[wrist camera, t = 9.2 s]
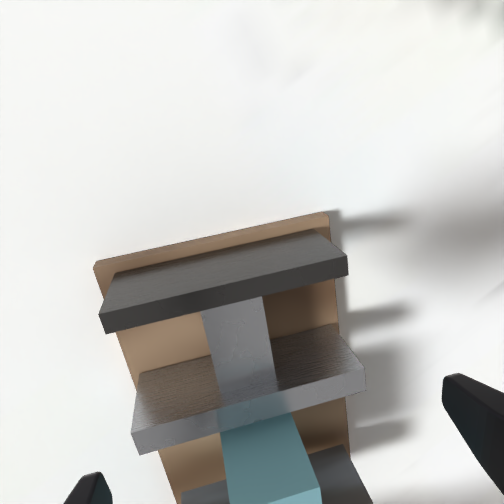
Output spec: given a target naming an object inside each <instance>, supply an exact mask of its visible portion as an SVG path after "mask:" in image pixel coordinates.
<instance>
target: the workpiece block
mask: <svg viewBox="0 0 504 504" xmlns="http://www.w3.org/2000/svg"><path fill="white" fill-rule="evenodd" d="M220 437H221V444H222V451H223V459H224V466H225V473H226V480H227V487H228V494H229V501H230V504H322V499H321V491H320V486H319V483H318V481H317V478H316V476H315V473H314V471H313V468H312V466H311V463H310V460H309V458H308V455H307V453H306V450H305V448H304V445H303V443H302V440H301V437H300V435H299V432H298V430H297V427H296V425H295V422H294V420H293V417H292V414H291V412H289V413H286V414H282V415H279V416H275V417H272V418H268V419H265V420H261V421H258V422H254V423H251V424H247V425H244V426H240V427H237V428H233V429H230V430H226V431H223V432H220Z"/></svg>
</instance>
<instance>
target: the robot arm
mask: <svg viewBox="0 0 504 504" xmlns="http://www.w3.org/2000/svg"><path fill="white" fill-rule="evenodd" d="M442 403H443V406H444V408H445V410H446V411H447V413H448V415H449V416H450V418H451V419H452V421H453V422H454V424H455V426H456V427H457V429H458V430H459V432H460V434H461V435H462V437H463V438H464V440H465V441H466V443H467V445H468V446H469V448H470V449H471V451H472V453H473V454H474V456H475V457H476V459H477V460H478V462H479V463H480V465H481V466H482V467H483V469H484V470H485V471H486V473H487V474H488V475H489V477H490V478H491V479H492V481H493V482H494V483H495V484H496V486H497V487H498V488H499V490H500V491H501V492H502V494H503V495H504V393H503V392H500V391H498V390H496V389H494V388H492V387H489V386H487V385H485V384H483V383H481V382H478V381H476V380H474V379H472V378H470V377H467V376H465V375H463V374H460V373H456V374H452V375H448V376H445V377H444V379H443V387H442ZM63 504H113V501H112V494H111V491H110V489H109V487H108V485H107V483H106V481H105V478H104V476H103V474H102V473H101V472H95V473H91V474H87V475H84V476H83V477H82V478H81V479H80V480H79V481H78V483H77V484H76V486H75V487H74V489H73V490H72V492H71V493H70V495H69V496H68V498H67V499H66V501H65V502H64V503H63Z"/></svg>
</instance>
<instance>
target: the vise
mask: <svg viewBox="0 0 504 504" xmlns="http://www.w3.org/2000/svg"><path fill="white" fill-rule="evenodd" d="M309 229H315V230H316V231H317V232H318V233H320V234H321V235H322V236H323V237H325V238H326V239H327V240H328V241H330V242H331V237H330V226H329V216H328V215H326V214H325V213H323V212H319V213H314V214H310V215H305V216H300V217H296V218H291V219H287V220H282V221H278V222H273V223H268V224H264V225H259V226H255V227H250V228H246V229H241V230H237V231H232V232H227V233H223V234H218V235H214V236H209V237H205V238H200V239H195V240H191V241H186V242H182V243H177V244H173V245H168V246H163V247H159V248H154V249H150V250H145V251H141V252H136V253H132V254H127V255H122V256H118V257H113V258H109V259H104V260H100V261H96V263H95V265H94V267H93V270H94V273H95V276H96V279H97V282H98V284H99V287H100V290H101V293H102V296H103V298H104V299H105V296H106V294H107V291H108V289H109V286H110V284H111V281H112V279H113V276H114V274H115V273H117V272H122V271H126V270H131V269H135V268H140V267H144V266H148V265H153V264H157V263H162V262H166V261H171V260H175V259H180V258H184V257H189V256H193V255H197V254H202V253H206V252H211V251H215V250H220V249H224V248H229V247H233V246H238V245H242V244H247V243H251V242H255V241H260V240H264V239H269V238H273V237H278V236H282V235H287V234H291V233H296V232H300V231H304V230H309ZM262 300H263V305H264V311H265V317H266V322H267V328H268V334H269V340H272V339H276V338H280V337H283V336H287V335H291V334H295V333H299V332H303V331H306V330H310V329H314V328H318V327H322V326H326V325H330V324H332V326H333V327H334V328H335V330H336V331H337V332H338V334H339V325H338V314H337V303H336V292H335V281H334V279H331V280H327V281H323V282H319V283H315V284H310V285H306V286H302V287H298V288H294V289H290V290H286V291H282V292H278V293H274V294H269V295H265V296H262ZM116 335H117V337H118V340H119V343H120V346H121V349H122V351H123V354H124V357H125V360H126V363H127V365H128V368H129V371H130V374H131V377H132V379H133V382H134V385H135V388H136V391H137V386H138V379H139V374H141V373H145V372H148V371H152V370H156V369H160V368H164V367H168V366H172V365H175V364H179V363H183V362H187V361H191V360H195V359H199V358H202V357H206V356H210V355H211V353H210V349H209V345H208V341H207V337H206V333H205V329H204V325H203V321H202V317H201V313H200V312H196V313H191V314H187V315H183V316H179V317H175V318H171V319H167V320H163V321H159V322H155V323H150V324H146V325H142V326H138V327H134V328H130V329H126V330H122V331H118V332H116ZM291 414H292V417H293V420H294V422H295V425H296V427H297V430H298V432H299V435H300V437H301V440H302V443H303V445H304V448H305V450H306V453H307V455H308V458H309V460H310V463H311V466H312V468H313V471H314V473H315V476H316V478H317V481H318V483H319V486H320V491H321V499H322V504H373V502H372V500H371V498H370V496H369V494H368V492H367V490H366V488H365V486H364V484H363V482H362V480H361V479H360V477H359V475H358V473H357V471H356V469H355V467H354V465H353V463H352V461H351V458H350V447H349V436H348V425H347V414H346V403H345V397H342V398H338V399H335V400H331V401H328V402H324V403H321V404H317V405H314V406H310V407H307V408H303V409H300V410H296V411H293V412H291ZM158 452H159V455H160V458H161V460H162V463H163V466H164V469H165V472H166V474H167V477H168V480H169V483H170V486H171V488H172V491H173V494H174V497H175V500H176V502H177V504H230V501H229V494H228V487H227V480H226V473H225V466H224V459H223V451H222V444H221V437H220V432H219V433H216V434H212V435H209V436H205V437H202V438H199V439H195V440H192V441H188V442H185V443H181V444H178V445H174V446H171V447H167V448H164V449H160V450H158Z"/></svg>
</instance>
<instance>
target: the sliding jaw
mask: <svg viewBox="0 0 504 504" xmlns="http://www.w3.org/2000/svg"><path fill="white" fill-rule="evenodd" d="M347 275H349V274H348V261H347V255H346V254H345V253H343V252H342V251H341V250H340V249H338V248H337V247H336V246H335V245H333V244H332V243H331V242H330V241H328V240H327V239H326V238H325V237H323V236H322V235H321V234H320V233H318V232H317V231H316V230H315V229H309V230H304V231H300V232H296V233H291V234H287V235H282V236H278V237H273V238H269V239H264V240H260V241H255V242H251V243H247V244H242V245H238V246H233V247H229V248H224V249H220V250H215V251H211V252H206V253H202V254H197V255H193V256H189V257H184V258H180V259H175V260H171V261H166V262H162V263H157V264H153V265H148V266H144V267H140V268H135V269H131V270H126V271H122V272H117V273H115V274H114V276H113V279H112V281H111V284H110V286H109V289H108V291H107V294H106V296H105V299H104V301H103V304H102V306H101V309H100V311H99V314H98V315H99V317H100V320H101V323H102V325H103V328H104V331H105V333H106V334H109V333H114V332H118V331H122V330H126V329H130V328H134V327H138V326H142V325H146V324H150V323H155V322H159V321H163V320H167V319H171V318H175V317H179V316H183V315H187V314H191V313H196V312H200V313H201V317H202V321H203V325H204V329H205V333H206V337H207V341H208V345H209V349H210V353H211V355H210V356H206V357H202V358H199V359H195V360H191V361H187V362H183V363H179V364H175V365H172V366H168V367H164V368H160V369H156V370H152V371H148V372H145V373H141V374H139V379H138V386H137V393H136V400H135V407H134V414H133V421H132V428H131V435H132V437H133V440H134V443H135V445H136V448H137V450H138V453H139V455H143V454H146V453H150V452H153V451H157V450H160V449H164V448H167V447H171V446H174V445H178V444H181V443H185V442H188V441H192V440H195V439H199V438H202V437H205V436H209V435H212V434H216V433H219V432H223V431H226V430H230V429H233V428H237V427H240V426H244V425H247V424H251V423H254V422H258V421H261V420H265V419H268V418H272V417H275V416H279V415H282V414H286V413H289V412H293V411H296V410H300V409H303V408H307V407H310V406H314V405H317V404H321V403H324V402H328V401H331V400H335V399H338V398H342V397H345V396H349V395H352V394H356V393H359V392H363V391H366V382H365V368H364V366H363V365H362V364H361V363H360V361H359V360H358V359H357V357H356V356H355V355H354V353H353V352H352V351H351V349H350V348H349V347H348V345H347V344H346V343H345V341H344V340H343V339H342V337H341V336H340V335H339V334H338V332H337V331H336V330H335V328H334V327H333V326H332V324H330V325H326V326H322V327H318V328H314V329H310V330H306V331H303V332H299V333H295V334H291V335H287V336H283V337H280V338H276V339H272V340H269V334H268V328H267V322H266V317H265V311H264V305H263V300H262V296H265V295H269V294H274V293H278V292H282V291H286V290H290V289H294V288H298V287H302V286H306V285H310V284H315V283H319V282H323V281H327V280H331V279H335V278H339V277H343V276H347Z"/></svg>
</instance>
